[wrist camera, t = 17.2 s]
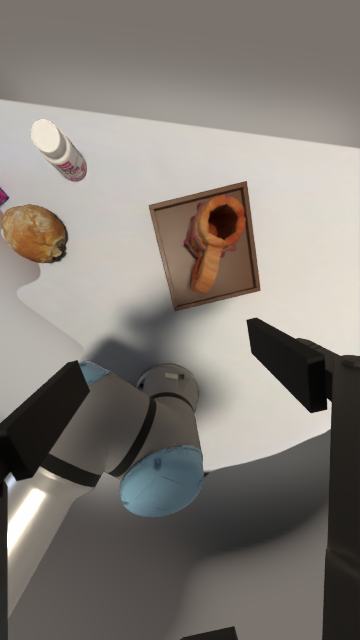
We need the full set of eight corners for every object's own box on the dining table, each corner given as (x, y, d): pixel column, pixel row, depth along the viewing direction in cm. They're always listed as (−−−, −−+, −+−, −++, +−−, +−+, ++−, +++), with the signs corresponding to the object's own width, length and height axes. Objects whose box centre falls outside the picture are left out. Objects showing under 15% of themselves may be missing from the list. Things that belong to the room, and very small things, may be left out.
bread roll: (68, 215, 41) (37, 182, 33) (78, 258, 39) (47, 234, 31) (24, 231, 41) (-17, 202, 33) (32, 274, 39) (-10, 254, 31)
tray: (256, 289, 43) (260, 290, 41) (174, 309, 43) (174, 311, 41) (242, 185, 38) (246, 180, 36) (149, 208, 38) (148, 205, 36)
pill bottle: (76, 187, 36) (49, 163, 28) (55, 167, 35) (20, 136, 27) (92, 166, 36) (69, 135, 27) (70, 144, 35) (39, 106, 26)
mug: (192, 207, 38) (206, 168, 23) (231, 221, 38) (268, 191, 24) (172, 281, 41) (173, 288, 26) (208, 292, 42) (229, 304, 27)
